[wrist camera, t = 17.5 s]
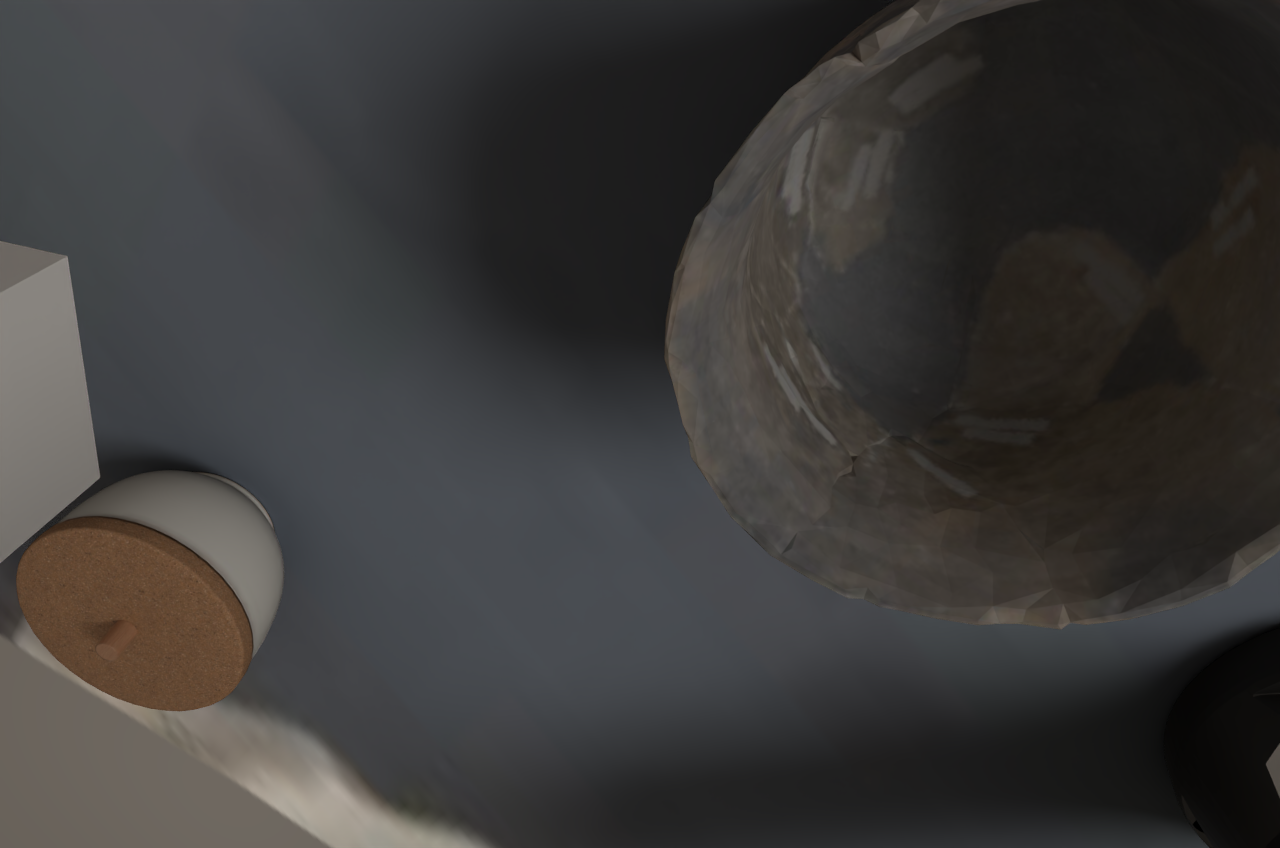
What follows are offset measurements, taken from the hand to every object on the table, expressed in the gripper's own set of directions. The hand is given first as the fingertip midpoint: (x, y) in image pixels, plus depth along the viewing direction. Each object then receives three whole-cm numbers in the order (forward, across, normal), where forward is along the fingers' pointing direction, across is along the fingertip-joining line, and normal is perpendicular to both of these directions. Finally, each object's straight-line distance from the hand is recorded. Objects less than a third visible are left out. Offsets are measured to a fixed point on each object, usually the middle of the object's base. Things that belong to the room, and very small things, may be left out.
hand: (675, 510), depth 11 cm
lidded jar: (+30, +24, +28) cm, 48 cm away
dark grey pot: (+30, -7, +3) cm, 31 cm away
